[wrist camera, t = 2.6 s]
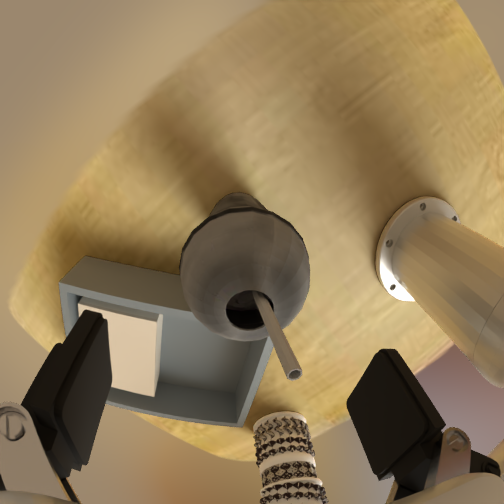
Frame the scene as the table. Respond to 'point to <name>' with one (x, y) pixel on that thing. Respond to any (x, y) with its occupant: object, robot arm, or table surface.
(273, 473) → the decorative candle
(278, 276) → the beverage cup
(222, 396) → the tray
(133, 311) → the beige rectangular block
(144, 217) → the table surface
